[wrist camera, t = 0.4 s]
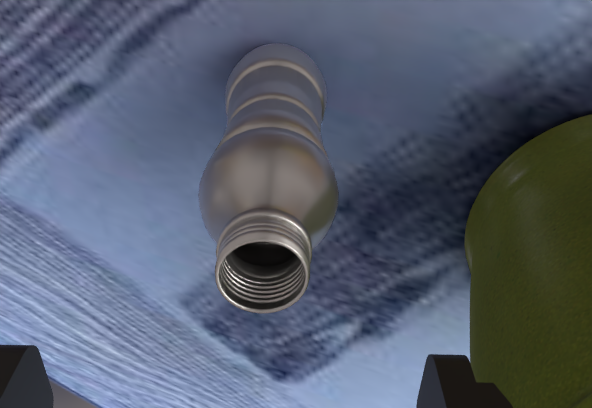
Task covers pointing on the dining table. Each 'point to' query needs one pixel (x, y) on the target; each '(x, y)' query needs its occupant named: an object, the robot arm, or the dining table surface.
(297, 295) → the plastic bottle
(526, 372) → the plant pot
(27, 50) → the dining table surface
